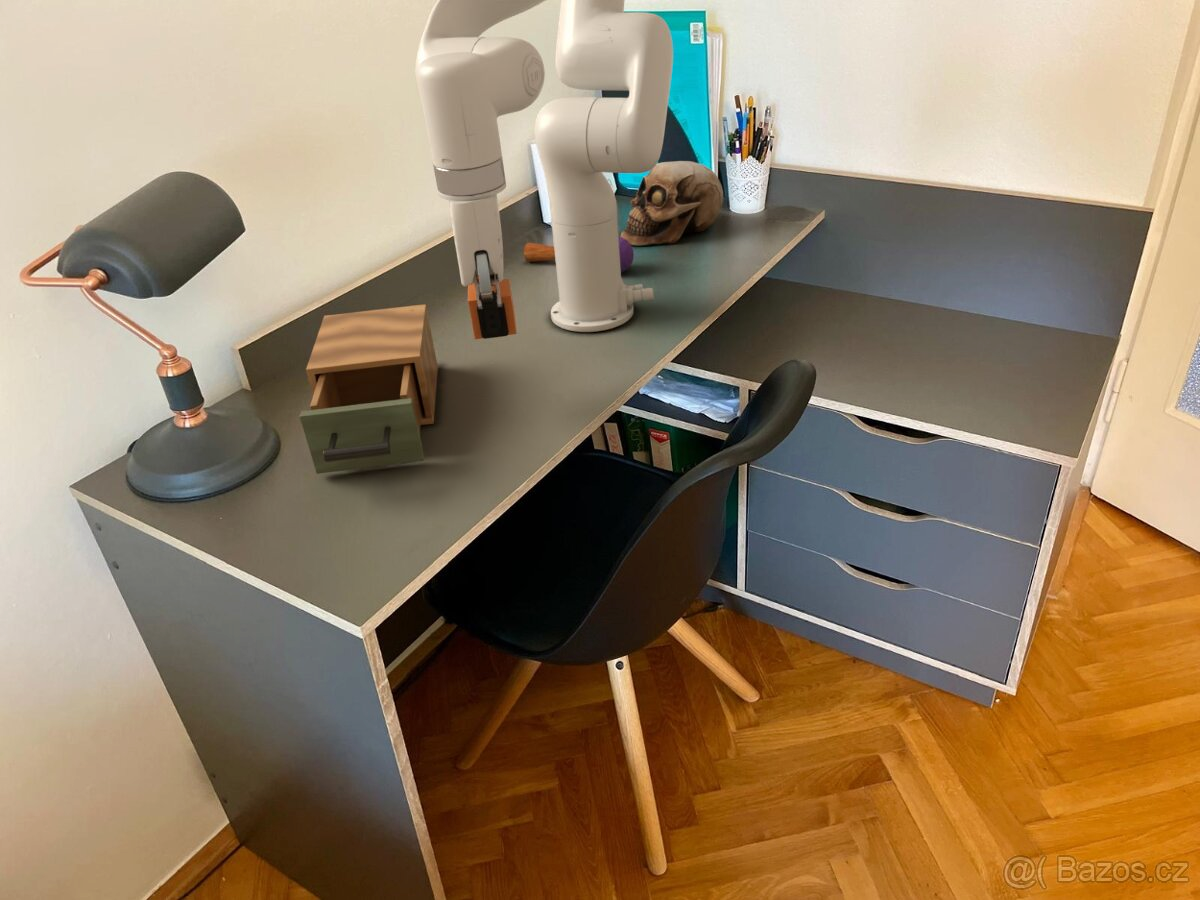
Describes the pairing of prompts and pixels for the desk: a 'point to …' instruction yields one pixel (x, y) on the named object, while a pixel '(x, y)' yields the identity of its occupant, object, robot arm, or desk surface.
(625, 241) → the kendama
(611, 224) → the robot arm
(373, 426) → the drawer
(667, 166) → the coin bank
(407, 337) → the cabinet
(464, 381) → the desk surface
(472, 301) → the block
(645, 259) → the desk surface
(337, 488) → the desk surface
